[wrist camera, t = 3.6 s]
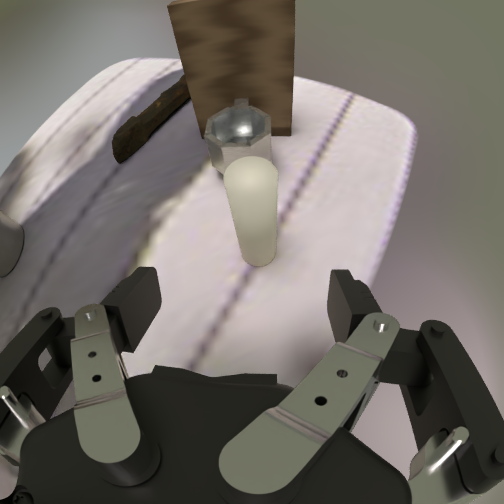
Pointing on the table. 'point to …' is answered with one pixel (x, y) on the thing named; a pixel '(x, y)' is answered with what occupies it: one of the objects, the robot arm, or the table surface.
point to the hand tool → (148, 121)
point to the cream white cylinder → (253, 207)
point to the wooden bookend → (237, 56)
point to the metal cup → (238, 134)
